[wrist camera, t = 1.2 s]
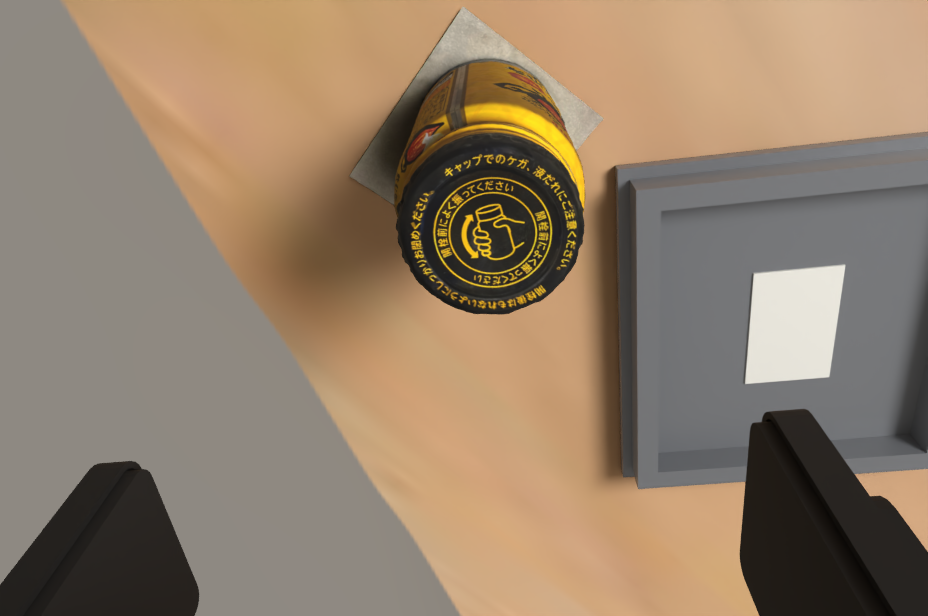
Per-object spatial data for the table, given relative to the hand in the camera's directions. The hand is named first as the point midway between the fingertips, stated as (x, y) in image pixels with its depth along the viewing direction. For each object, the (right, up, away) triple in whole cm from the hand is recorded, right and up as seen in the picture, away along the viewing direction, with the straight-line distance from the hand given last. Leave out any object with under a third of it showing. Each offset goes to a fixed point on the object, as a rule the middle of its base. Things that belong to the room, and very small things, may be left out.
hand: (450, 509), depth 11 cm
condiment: (+1, +10, +19) cm, 22 cm away
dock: (+16, +3, +22) cm, 27 cm away
